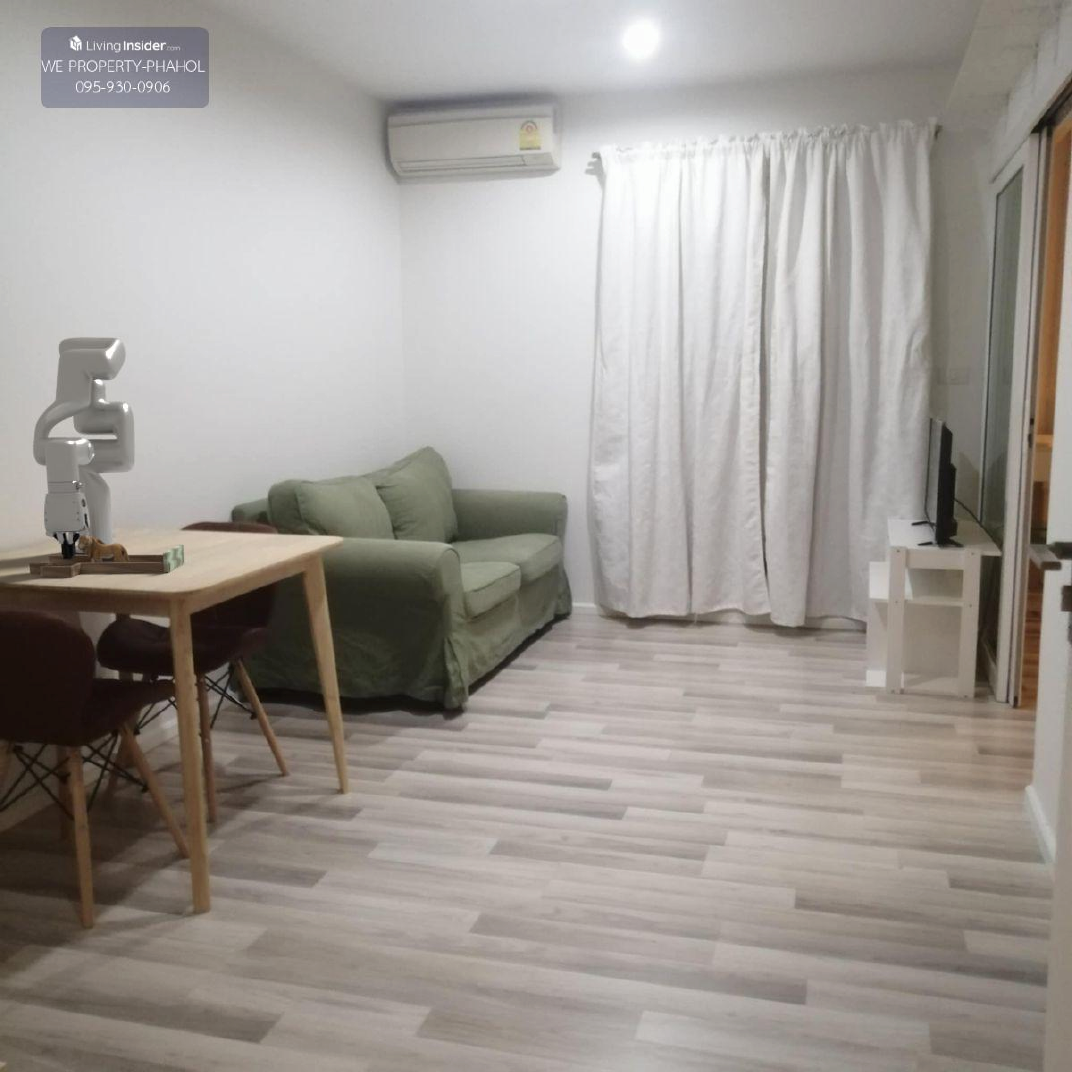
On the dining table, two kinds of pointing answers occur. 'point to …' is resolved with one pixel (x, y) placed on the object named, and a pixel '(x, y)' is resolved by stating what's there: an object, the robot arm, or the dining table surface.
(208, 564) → the dining table surface
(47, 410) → the robot arm
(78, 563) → the wooden walled channel
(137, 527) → the dining table surface
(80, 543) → the lion figurine
